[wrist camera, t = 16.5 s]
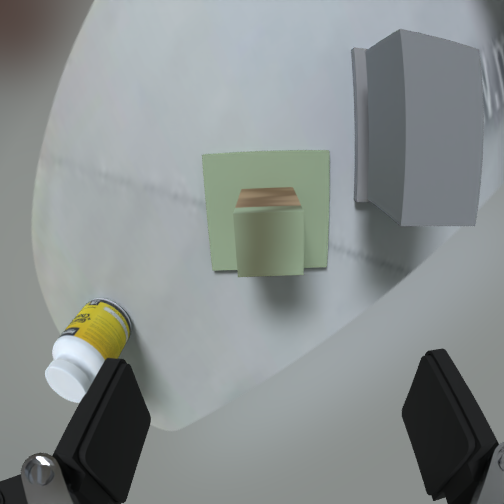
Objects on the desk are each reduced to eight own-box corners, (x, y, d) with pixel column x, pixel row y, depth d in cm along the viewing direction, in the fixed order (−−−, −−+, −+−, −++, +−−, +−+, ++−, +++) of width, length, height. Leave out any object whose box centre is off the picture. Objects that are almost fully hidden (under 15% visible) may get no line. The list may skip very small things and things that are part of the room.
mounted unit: (411, 57, 23) (477, 36, 13) (410, 199, 28) (472, 240, 18) (351, 49, 23) (397, 14, 13) (354, 199, 28) (399, 241, 18)
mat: (328, 150, 27) (329, 150, 26) (325, 264, 31) (326, 267, 30) (203, 154, 27) (202, 155, 27) (213, 267, 32) (212, 270, 31)
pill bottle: (115, 289, 33) (65, 354, 22) (143, 334, 35) (107, 407, 25) (76, 303, 34) (26, 363, 23) (103, 345, 36) (65, 410, 26)
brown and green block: (292, 187, 28) (303, 211, 20) (293, 235, 29) (303, 274, 22) (241, 189, 28) (233, 213, 20) (244, 237, 30) (238, 277, 22)
